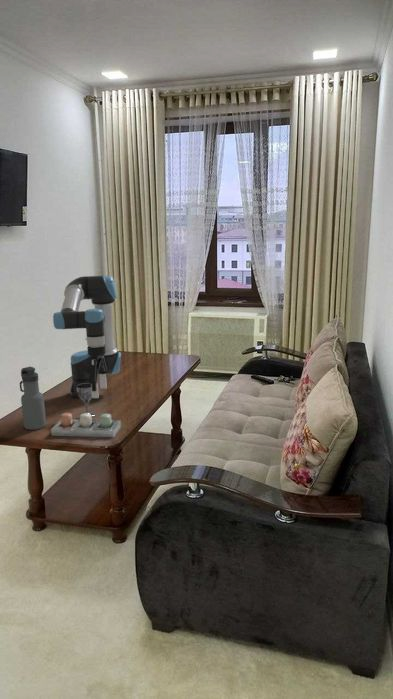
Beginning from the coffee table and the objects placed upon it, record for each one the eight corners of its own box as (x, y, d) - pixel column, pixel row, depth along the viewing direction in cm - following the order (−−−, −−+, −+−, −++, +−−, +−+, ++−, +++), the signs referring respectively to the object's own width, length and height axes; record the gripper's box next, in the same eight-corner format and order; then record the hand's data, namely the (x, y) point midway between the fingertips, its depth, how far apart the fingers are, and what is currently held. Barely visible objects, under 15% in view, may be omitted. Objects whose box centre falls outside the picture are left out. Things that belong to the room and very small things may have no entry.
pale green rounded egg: (102, 423, 228) (101, 413, 227) (113, 424, 227) (112, 413, 226) (98, 428, 223) (98, 417, 222) (109, 428, 222) (109, 417, 221)
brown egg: (63, 423, 230) (62, 412, 229) (74, 423, 229) (73, 412, 228) (59, 427, 225) (58, 416, 224) (70, 427, 225) (69, 417, 223)
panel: (61, 425, 234) (61, 418, 233) (120, 426, 231) (120, 420, 230) (51, 435, 223) (51, 429, 222) (113, 437, 219) (113, 430, 219)
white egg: (82, 423, 229) (82, 413, 228) (93, 423, 228) (92, 413, 227) (79, 427, 224) (78, 417, 223) (90, 428, 223) (89, 417, 222)
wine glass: (89, 418, 241) (87, 388, 237) (75, 417, 244) (73, 387, 240) (98, 413, 248) (96, 383, 244) (85, 411, 251) (82, 382, 247)
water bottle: (20, 426, 234) (13, 368, 227) (39, 420, 240) (33, 363, 234) (30, 432, 227) (23, 372, 220) (50, 426, 233) (44, 367, 227)
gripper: (95, 339, 229) (98, 384, 233) (78, 352, 204) (82, 402, 209) (111, 339, 228) (114, 384, 233) (96, 352, 204) (100, 402, 209)
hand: (99, 392), depth 221 cm, fingers open, 13 cm apart
